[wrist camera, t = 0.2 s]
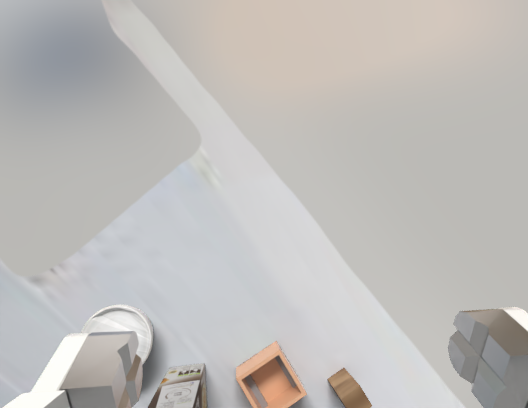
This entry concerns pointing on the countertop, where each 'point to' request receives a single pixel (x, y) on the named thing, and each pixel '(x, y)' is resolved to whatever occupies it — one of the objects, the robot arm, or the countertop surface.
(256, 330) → the countertop surface
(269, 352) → the peach cubby shelf
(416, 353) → the countertop surface
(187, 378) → the coffee box
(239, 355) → the countertop surface
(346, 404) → the tan plain wooden block
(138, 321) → the ramekin
